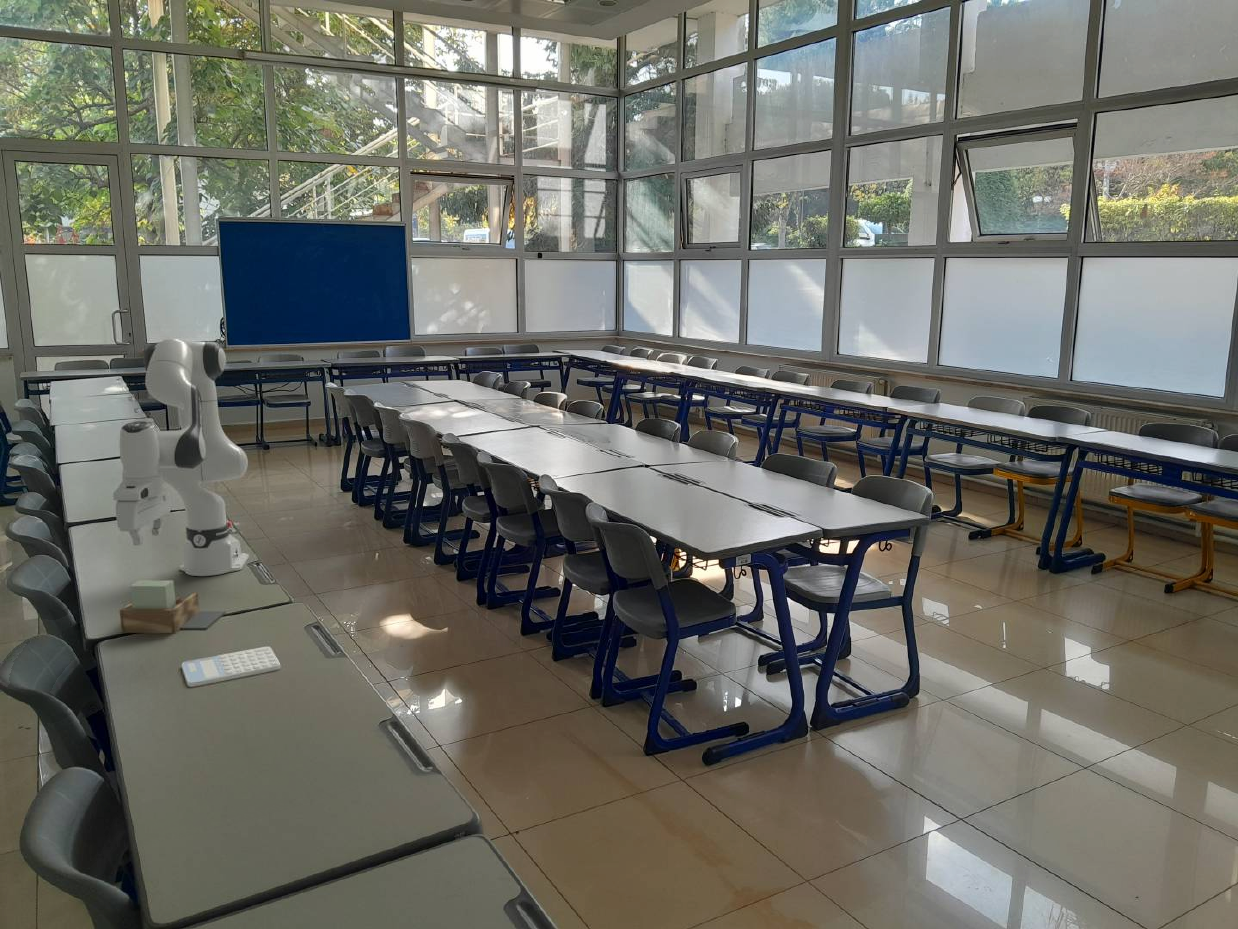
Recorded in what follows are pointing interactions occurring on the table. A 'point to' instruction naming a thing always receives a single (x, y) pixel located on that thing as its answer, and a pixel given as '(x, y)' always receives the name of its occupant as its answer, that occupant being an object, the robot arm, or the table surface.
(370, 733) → the table surface
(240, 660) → the calculator
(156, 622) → the rack
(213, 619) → the mat
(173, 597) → the sage green thick block
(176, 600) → the offcut upper
